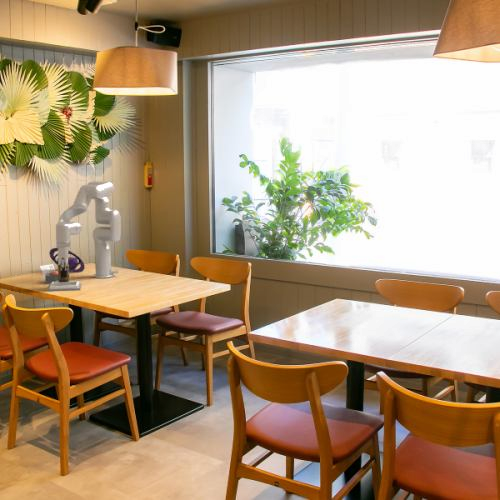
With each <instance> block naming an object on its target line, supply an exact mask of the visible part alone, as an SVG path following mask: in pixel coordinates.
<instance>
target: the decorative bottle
mask: <svg viewBox="0 0 500 500" xmlns="http://www.w3.org/2000/svg"><path fill="white" fill-rule="evenodd" d="M70 248H71V245H70ZM55 252H58V248H56V247H53V248H51V249H50V250H49V252H48V253H49V257H50V259H51V260H52V261H53V262H54V264H56V266H58V253H56V254H55ZM68 255H72V257H71V256H70V257H69V256H68V265H69V273H82V272H83V271H84V270H85V263H84V262H83V259H81V258H80V257H79V256H78V255H77V254H76V253H74V252H73V251H70V250H68ZM79 265H80V266H79ZM78 266H79V268H77V267H78Z"/></svg>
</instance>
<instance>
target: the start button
mask: <svg viewBox="0 0 500 500" xmlns="http://www.w3.org/2000/svg"><path fill="white" fill-rule="evenodd" d="M49 273H50V275H58V270H50V272H49Z"/></svg>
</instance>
